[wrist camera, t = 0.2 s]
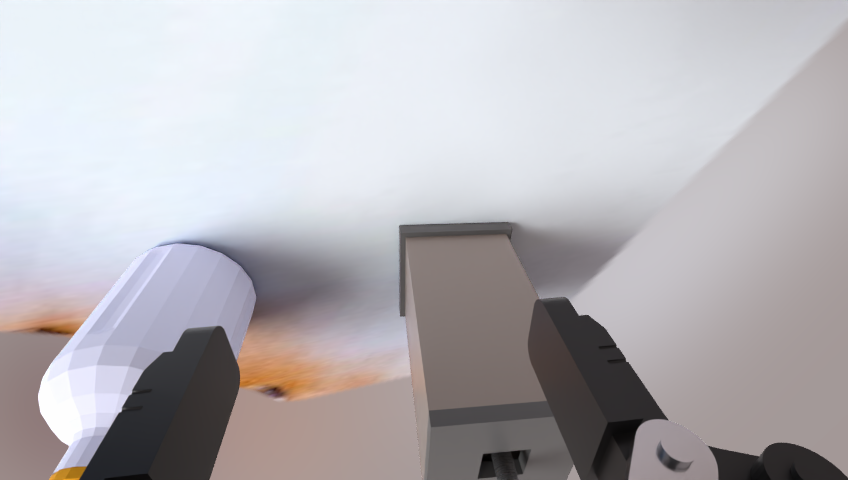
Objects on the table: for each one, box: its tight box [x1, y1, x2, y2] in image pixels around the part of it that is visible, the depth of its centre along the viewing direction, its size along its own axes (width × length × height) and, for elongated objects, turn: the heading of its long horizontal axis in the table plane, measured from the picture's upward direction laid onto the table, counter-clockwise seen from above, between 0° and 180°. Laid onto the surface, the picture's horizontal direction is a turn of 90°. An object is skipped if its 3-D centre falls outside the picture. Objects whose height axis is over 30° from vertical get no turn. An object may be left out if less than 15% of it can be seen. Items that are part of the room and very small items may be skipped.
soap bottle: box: [38, 243, 256, 480], centre depth 21 cm, size 9×9×25 cm
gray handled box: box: [399, 222, 574, 480], centre depth 27 cm, size 11×8×16 cm
